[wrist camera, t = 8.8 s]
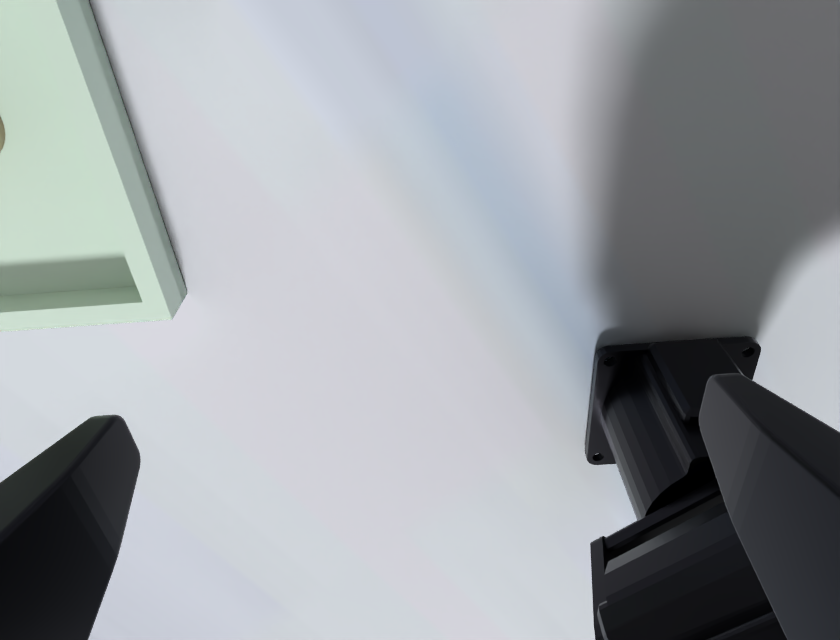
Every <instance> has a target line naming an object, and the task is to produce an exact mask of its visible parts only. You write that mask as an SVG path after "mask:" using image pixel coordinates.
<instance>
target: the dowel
mask: <svg viewBox="0 0 840 640" xmlns="http://www.w3.org/2000/svg"><path fill="white" fill-rule="evenodd" d="M4 143H5V128H4V124H3V121H2V119H1V117H0V152H1V150H2V149H3V146H4Z"/></svg>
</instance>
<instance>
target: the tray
mask: <svg viewBox="0 0 840 640" xmlns="http://www.w3.org/2000/svg"><path fill="white" fill-rule="evenodd" d="M0 117H1V119H2V121H3V124H4V128H5V143H4V146H3V149H2V150H1V152H0V332H6V331H20V330H34V329H48V328H62V327H76V326H90V325H104V324H118V323H132V322H146V321H160V320H172V319H173V317H174V316H175V314H176V312H177V310H178V309H179V307H180V305H181V303H182V302H183V300H184V298H185V296H186V295H187V291H186V288H185V285H184V282H183V279H182V276H181V273H180V270H179V267H178V264H177V261H176V258H175V255H174V252H173V249H172V246H171V243H170V240H169V237H168V234H167V231H166V229H165V226H164V223H163V220H162V217H161V214H160V211H159V208H158V205H157V202H156V199H155V196H154V193H153V190H152V187H151V184H150V181H149V178H148V175H147V172H146V169H145V166H144V163H143V160H142V158H141V155H140V152H139V149H138V146H137V143H136V140H135V137H134V134H133V131H132V128H131V125H130V122H129V119H128V116H127V113H126V110H125V107H124V104H123V101H122V98H121V95H120V92H119V89H118V86H117V84H116V81H115V78H114V75H113V72H112V69H111V66H110V63H109V60H108V57H107V54H106V51H105V48H104V45H103V42H102V39H101V36H100V33H99V30H98V27H97V24H96V21H95V18H94V15H93V13H92V10H91V7H90V4H89V1H88V0H0Z"/></svg>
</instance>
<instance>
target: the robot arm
mask: <svg viewBox="0 0 840 640" xmlns="http://www.w3.org/2000/svg"><path fill="white" fill-rule="evenodd" d="M748 347H749V349H747V350H746V351H743V350H744V349H745V348H748ZM760 352H761V347H760V345H759V344H758V343H757V341H756V340H755V339H754V338H752V337H747V336H745V337H730V338H716V339H714V338H713V339H698V340H684V341H669V342H656V343H643V344H629V345H614V346H606V347H603V348H601V349H599V350H598V352H597V353H596V355H595V362H594V371H593V381H592V390H591V399H590V409H589V418H588V427H587V437H586V446H585V454H586V458H587V461H588V462H589V463H591V464H593V465H603V464H617V467H618V469H619V472H620V475H621V477H622V480H623V483H624V485H625V488H626V491H627V493H628V496H629V499H630V502H631V504H632V507H633V510H634V512H635V515H636V518H637V520H638V521H636V522H634V523H632V524H630V525H628V526H626V527H625V528H623V529H621V530H619V531H617V532H615V533H613V534H612V535H610V536H608V537H604V536H602V537H600V538H599V539H597V540H595V541H593V542H591V544H590V545H591V568H592V590H593V613H594V630H595V640H840V432H838V431H837V430H835V429H833V428H832V427H830V426H828V425H827V424H825V423H823V422H822V421H820V420H818V419H816V418H815V417H813V416H811V415H810V414H808V413H806V412H805V411H803V410H801V409H800V408H798V407H796V406H794V405H793V404H791V403H789V402H788V401H786V400H784V399H783V398H781V397H779V396H778V395H776V394H774V393H772V392H771V391H769V390H767V389H766V388H764V387H762V386H761V385H759V384H757V383H756V382H754V381H752V379H753V376H754V373H755V369H756V366H757V362H758V359H759V356H760ZM607 357H613V358H612V359H610V360H608V361H605V359H606V358H607ZM597 453H599V454H597ZM595 454H596V455H595ZM139 469H140V453H139V450H138V448H137V446H136V444H135V441H134V439H133V437H132V435H131V433H130V431H129V429H128V427H127V424H126V422H125V421H124V419H123V418H122V417H121V416H119V415H103V416H94V417H91V418H89V419H88V420H86V421H85V422H84V423H82V424H81V425H79V426H78V427H77V428H75V429H74V430H72V431H71V432H70V433H68V434H67V435H66V436H64V437H63V438H61V439H60V440H59V441H57V442H56V443H55V444H53V445H52V446H50V447H49V448H48V449H46V450H45V451H43V452H42V453H41V454H39V455H38V456H37V457H35V458H34V459H32V460H31V461H30V462H28V463H27V464H26V465H24V466H23V467H21V468H20V469H19V470H17V471H16V472H14V473H13V474H12V475H10V476H9V477H8V478H6V479H5V480H3V481H2V482H1V483H0V640H88V638H89V636H90V633H91V630H92V627H93V625H94V622H95V619H96V616H97V613H98V611H99V608H100V605H101V602H102V600H103V597H104V594H105V591H106V589H107V586H108V583H109V580H110V578H111V575H112V572H113V569H114V566H115V563H116V560H117V557H118V554H119V550H120V546H121V543H122V539H123V535H124V530H125V526H126V522H127V518H128V514H129V510H130V506H131V502H132V497H133V493H134V489H135V485H136V481H137V477H138V473H139Z"/></svg>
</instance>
